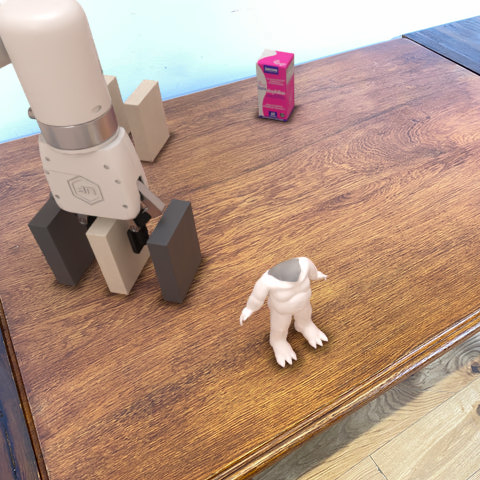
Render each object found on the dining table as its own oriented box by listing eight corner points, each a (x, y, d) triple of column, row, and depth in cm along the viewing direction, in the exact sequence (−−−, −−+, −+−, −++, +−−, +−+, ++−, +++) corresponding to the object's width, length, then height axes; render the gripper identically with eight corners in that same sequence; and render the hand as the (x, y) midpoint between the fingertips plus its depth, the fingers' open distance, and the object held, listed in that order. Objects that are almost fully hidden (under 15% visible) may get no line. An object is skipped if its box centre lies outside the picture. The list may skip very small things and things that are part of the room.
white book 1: (98, 154, 89) (78, 98, 81) (118, 129, 95) (102, 74, 87) (111, 156, 89) (93, 99, 81) (131, 131, 95) (116, 75, 87)
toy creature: (264, 382, 59) (258, 321, 51) (239, 345, 63) (229, 282, 54) (346, 332, 65) (353, 270, 56) (318, 301, 68) (320, 237, 59)
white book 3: (138, 160, 89) (122, 103, 81) (157, 134, 94) (143, 79, 86) (152, 161, 88) (137, 105, 80) (170, 136, 94) (158, 80, 86)
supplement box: (258, 118, 99) (254, 62, 91) (267, 102, 103) (264, 47, 95) (287, 123, 98) (285, 66, 90) (295, 107, 102) (294, 51, 94)
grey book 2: (164, 300, 67) (146, 242, 60) (185, 257, 73) (172, 198, 65) (182, 303, 67) (166, 245, 59) (202, 259, 73) (190, 201, 65)
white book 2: (110, 292, 68) (85, 233, 60) (135, 249, 74) (116, 190, 66) (128, 295, 68) (105, 236, 60) (152, 252, 73) (134, 193, 66)
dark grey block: (58, 283, 69) (27, 224, 61) (87, 241, 75) (62, 183, 67) (75, 286, 69) (46, 227, 61) (103, 244, 74) (80, 185, 66)
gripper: (-17, 132, 52) (46, 254, 65) (140, 153, 50) (173, 274, 63) (25, 95, 57) (76, 215, 70) (169, 113, 56) (194, 232, 69)
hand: (121, 242), depth 67 cm, fingers open, 4 cm apart
